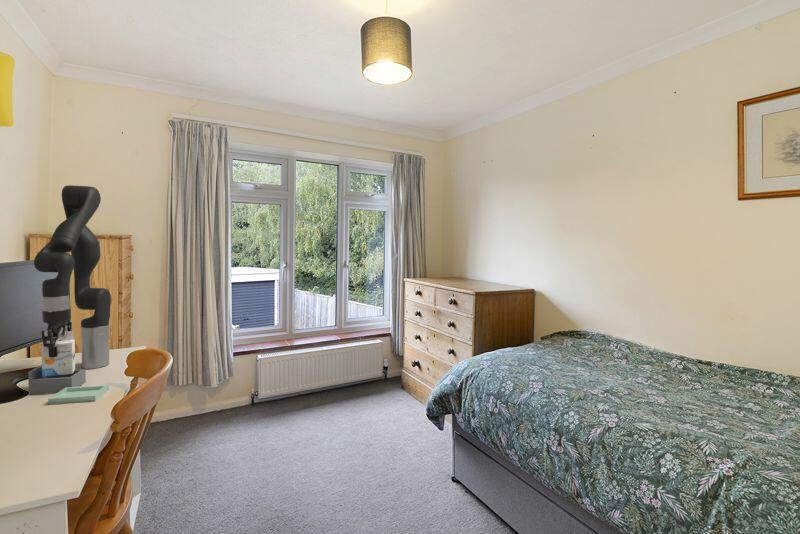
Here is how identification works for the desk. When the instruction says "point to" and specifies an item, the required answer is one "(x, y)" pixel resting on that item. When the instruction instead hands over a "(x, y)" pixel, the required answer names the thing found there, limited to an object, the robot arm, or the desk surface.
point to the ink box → (60, 357)
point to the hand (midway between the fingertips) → (58, 354)
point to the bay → (54, 381)
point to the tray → (78, 394)
